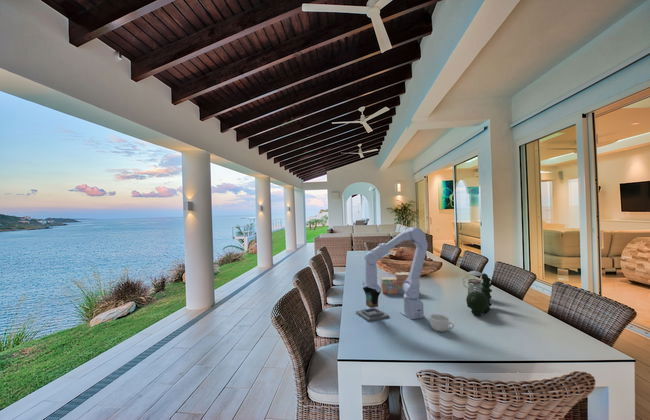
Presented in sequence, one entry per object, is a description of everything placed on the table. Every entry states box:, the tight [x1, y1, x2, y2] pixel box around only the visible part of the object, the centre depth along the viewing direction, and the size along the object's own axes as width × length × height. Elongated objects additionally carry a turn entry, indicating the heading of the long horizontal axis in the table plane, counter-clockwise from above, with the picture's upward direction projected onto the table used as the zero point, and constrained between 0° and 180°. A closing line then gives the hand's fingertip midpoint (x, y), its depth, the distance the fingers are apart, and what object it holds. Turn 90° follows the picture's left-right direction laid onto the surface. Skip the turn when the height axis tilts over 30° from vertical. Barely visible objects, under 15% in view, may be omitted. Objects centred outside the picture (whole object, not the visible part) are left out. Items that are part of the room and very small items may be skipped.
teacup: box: [429, 313, 455, 333], centre depth 122 cm, size 10×8×5 cm
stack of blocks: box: [380, 271, 410, 295], centre depth 178 cm, size 21×6×12 cm, turn 86°
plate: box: [355, 307, 390, 322], centre depth 141 cm, size 12×12×2 cm
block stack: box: [365, 292, 379, 309], centre depth 141 cm, size 4×4×6 cm
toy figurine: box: [465, 273, 493, 317], centre depth 142 cm, size 10×19×26 cm
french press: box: [462, 254, 483, 297], centre depth 165 cm, size 10×12×25 cm
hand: (371, 302), depth 141 cm, fingers closed on block stack, 4 cm apart
